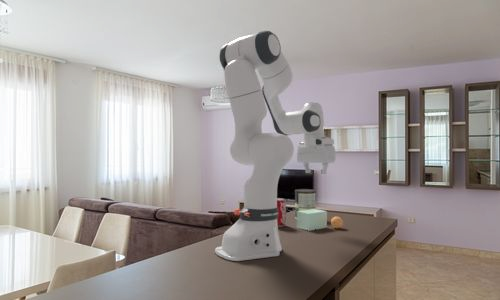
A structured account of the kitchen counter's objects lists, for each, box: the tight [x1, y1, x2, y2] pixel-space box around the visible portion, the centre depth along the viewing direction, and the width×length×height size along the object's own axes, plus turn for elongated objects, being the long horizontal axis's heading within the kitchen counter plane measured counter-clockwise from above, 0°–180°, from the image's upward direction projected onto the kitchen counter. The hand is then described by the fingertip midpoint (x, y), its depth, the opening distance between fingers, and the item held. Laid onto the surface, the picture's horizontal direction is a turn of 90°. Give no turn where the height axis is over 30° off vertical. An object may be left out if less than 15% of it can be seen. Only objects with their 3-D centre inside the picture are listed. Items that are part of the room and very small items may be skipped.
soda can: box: [277, 197, 287, 228], centre depth 152 cm, size 7×7×12 cm
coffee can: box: [294, 188, 317, 220], centre depth 169 cm, size 10×10×14 cm
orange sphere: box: [330, 216, 344, 229], centre depth 147 cm, size 5×5×5 cm
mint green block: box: [296, 208, 328, 232], centre depth 148 cm, size 11×7×7 cm
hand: (315, 173), depth 146 cm, fingers open, 8 cm apart
